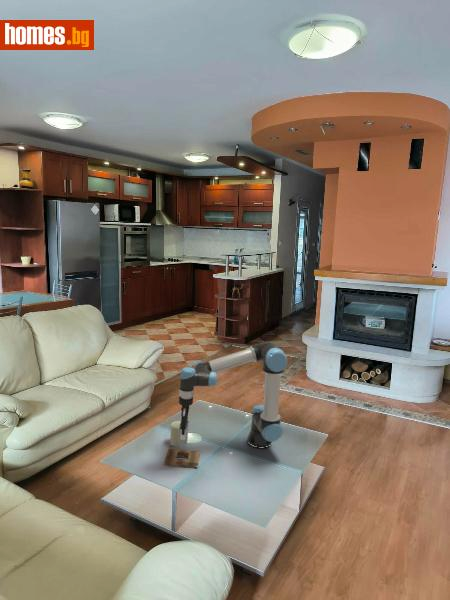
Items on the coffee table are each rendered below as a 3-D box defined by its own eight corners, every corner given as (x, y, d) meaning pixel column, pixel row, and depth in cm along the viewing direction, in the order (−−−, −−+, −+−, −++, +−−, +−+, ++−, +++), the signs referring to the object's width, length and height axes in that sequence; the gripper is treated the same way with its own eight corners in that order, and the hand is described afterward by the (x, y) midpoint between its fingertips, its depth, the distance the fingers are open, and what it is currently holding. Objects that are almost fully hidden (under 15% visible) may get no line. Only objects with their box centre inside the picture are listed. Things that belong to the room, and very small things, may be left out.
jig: (199, 455, 230) (200, 447, 230) (197, 468, 219) (198, 459, 218) (167, 453, 231) (168, 445, 230) (164, 465, 219) (164, 456, 218)
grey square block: (187, 440, 225) (188, 421, 223) (186, 444, 220) (187, 425, 218) (179, 439, 225) (180, 421, 223) (178, 443, 220) (179, 425, 218)
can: (182, 448, 237) (183, 428, 235) (167, 445, 239) (168, 426, 237) (187, 440, 246) (188, 421, 244) (172, 437, 248) (173, 419, 246)
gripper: (181, 389, 226) (178, 428, 231) (176, 402, 209) (174, 444, 213) (194, 390, 226) (191, 429, 231) (191, 404, 209) (188, 445, 213)
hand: (183, 436), depth 222 cm, fingers closed on grey square block, 4 cm apart
